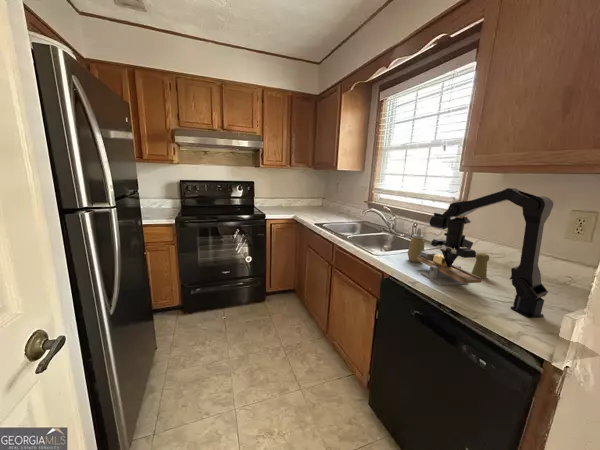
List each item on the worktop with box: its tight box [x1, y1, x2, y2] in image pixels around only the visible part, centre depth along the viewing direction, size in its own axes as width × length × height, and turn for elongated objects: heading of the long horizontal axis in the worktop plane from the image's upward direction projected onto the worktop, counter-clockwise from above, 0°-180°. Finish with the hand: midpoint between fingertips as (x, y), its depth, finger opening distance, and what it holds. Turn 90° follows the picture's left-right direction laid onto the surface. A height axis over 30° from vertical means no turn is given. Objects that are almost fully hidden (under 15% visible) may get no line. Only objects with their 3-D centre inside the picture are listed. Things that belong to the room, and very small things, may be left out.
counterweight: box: [420, 250, 438, 260], centre depth 123 cm, size 5×5×3 cm
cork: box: [470, 252, 490, 280], centre depth 117 cm, size 6×6×11 cm
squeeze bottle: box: [407, 227, 425, 263], centre depth 134 cm, size 8×8×18 cm
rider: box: [433, 254, 448, 267], centre depth 114 cm, size 5×5×4 cm
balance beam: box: [417, 256, 483, 284], centre depth 112 cm, size 28×9×2 cm, turn 12°
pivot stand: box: [420, 264, 469, 286], centre depth 113 cm, size 12×15×6 cm
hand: (448, 266), depth 110 cm, fingers closed
